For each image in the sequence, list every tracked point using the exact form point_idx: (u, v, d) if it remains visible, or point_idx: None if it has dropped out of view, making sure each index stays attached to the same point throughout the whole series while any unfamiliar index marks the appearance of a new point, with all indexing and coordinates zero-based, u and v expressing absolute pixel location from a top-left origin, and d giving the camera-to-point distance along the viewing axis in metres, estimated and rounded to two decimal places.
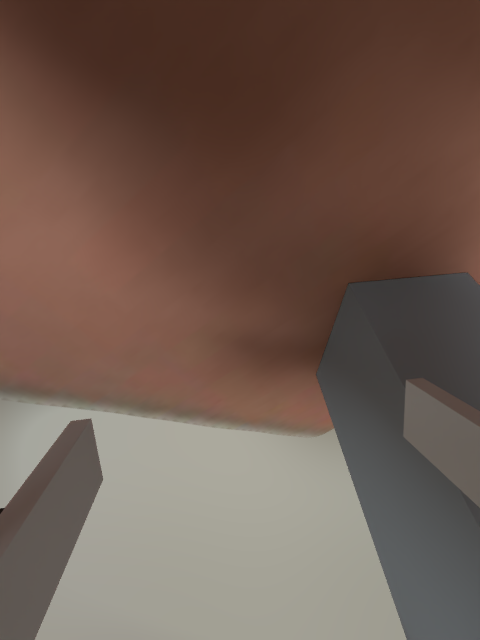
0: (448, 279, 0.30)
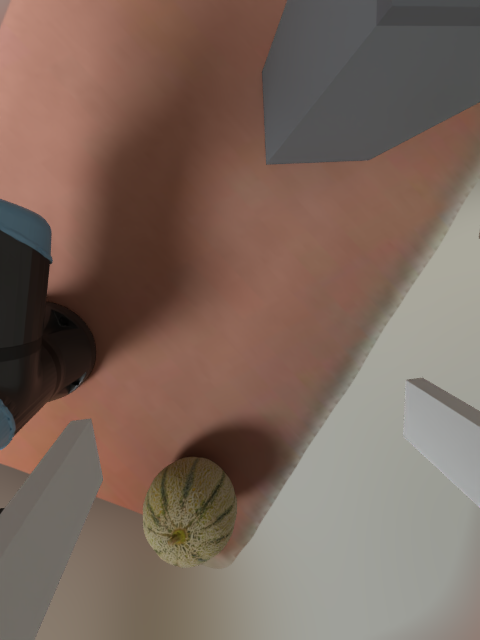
0: (264, 88, 0.45)
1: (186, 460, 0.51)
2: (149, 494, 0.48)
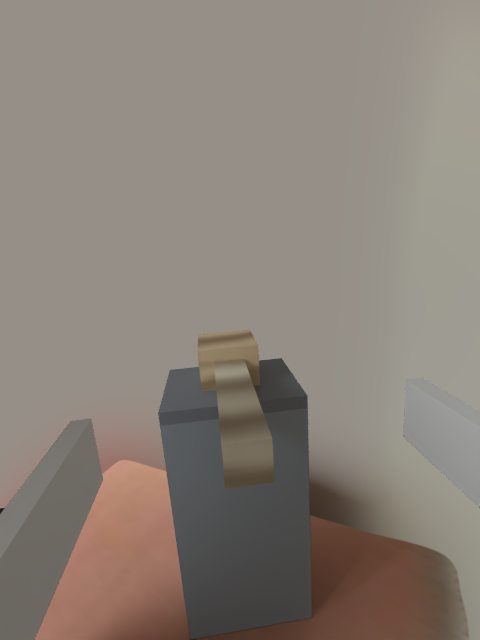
0: None
1: None
2: None
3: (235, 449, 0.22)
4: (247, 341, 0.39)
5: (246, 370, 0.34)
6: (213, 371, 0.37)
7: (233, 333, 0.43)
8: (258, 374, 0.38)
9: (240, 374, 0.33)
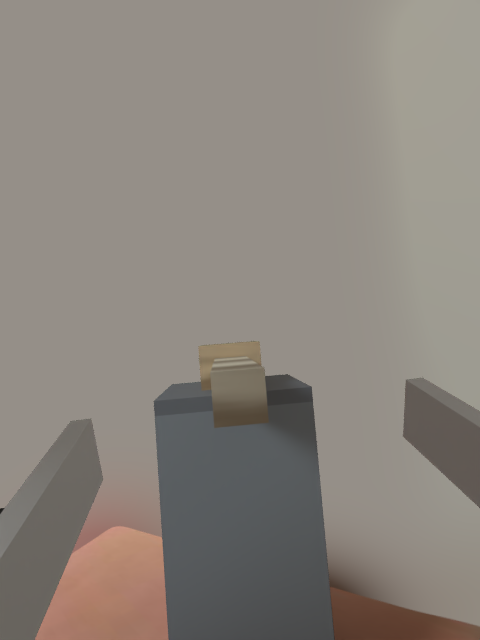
0: None
1: None
2: None
3: (225, 378, 0.20)
4: None
5: (246, 357, 0.33)
6: None
7: None
8: None
9: (239, 358, 0.32)
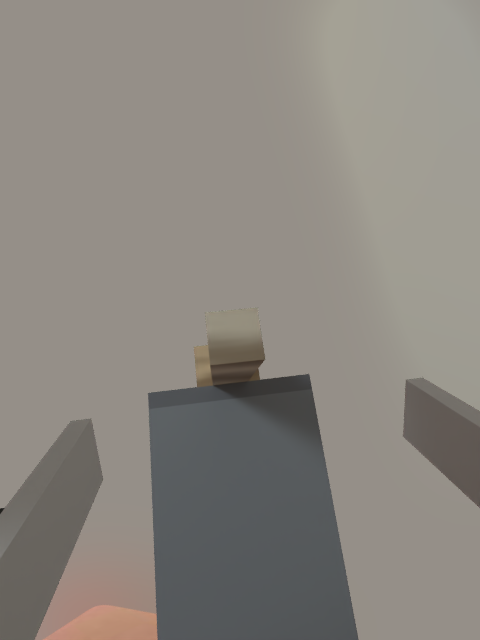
0: None
1: None
2: None
3: (219, 317, 0.21)
4: None
5: None
6: (210, 368, 0.36)
7: None
8: (257, 371, 0.36)
9: None
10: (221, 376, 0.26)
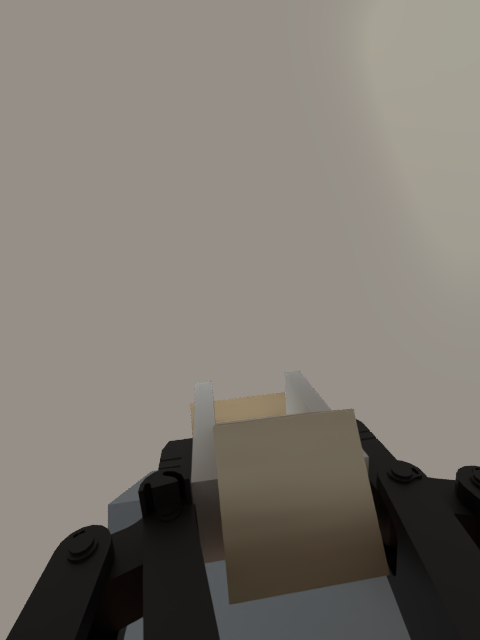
0: None
1: None
2: None
3: (253, 442, 0.08)
4: None
5: None
6: None
7: None
8: None
9: None
10: None
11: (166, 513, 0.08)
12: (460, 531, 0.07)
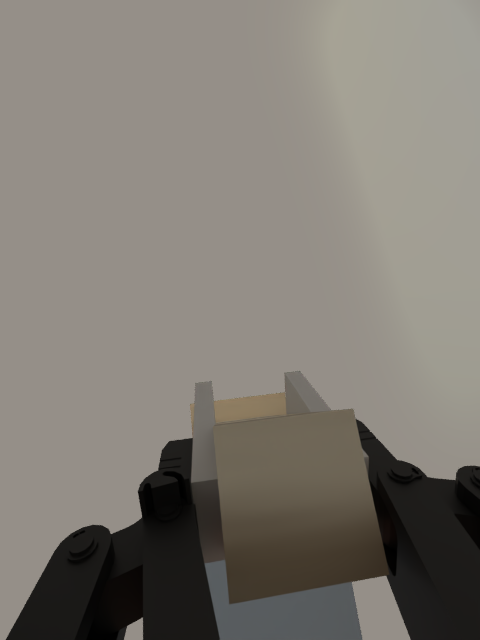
0: None
1: None
2: None
3: (253, 441, 0.08)
4: None
5: None
6: None
7: None
8: None
9: (259, 417, 0.19)
10: None
11: (166, 513, 0.08)
12: (460, 531, 0.07)
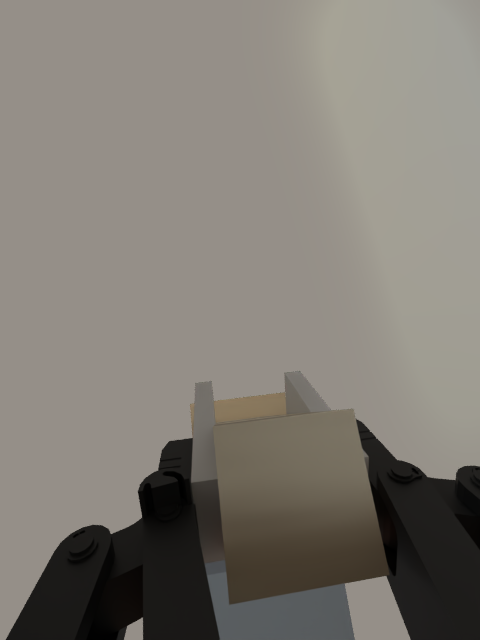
0: None
1: None
2: None
3: (253, 441, 0.08)
4: None
5: None
6: None
7: None
8: None
9: (259, 417, 0.19)
10: None
11: (166, 513, 0.08)
12: (460, 531, 0.07)
